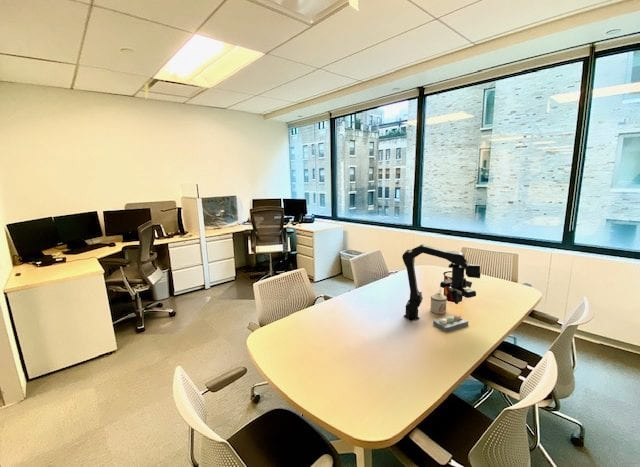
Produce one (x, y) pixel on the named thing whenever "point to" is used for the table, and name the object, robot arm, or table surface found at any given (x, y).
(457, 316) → the terracotta button
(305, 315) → the table surface
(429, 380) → the table surface
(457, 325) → the panel
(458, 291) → the robot arm
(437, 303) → the teacup with lid
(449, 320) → the sage button
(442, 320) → the cream button
